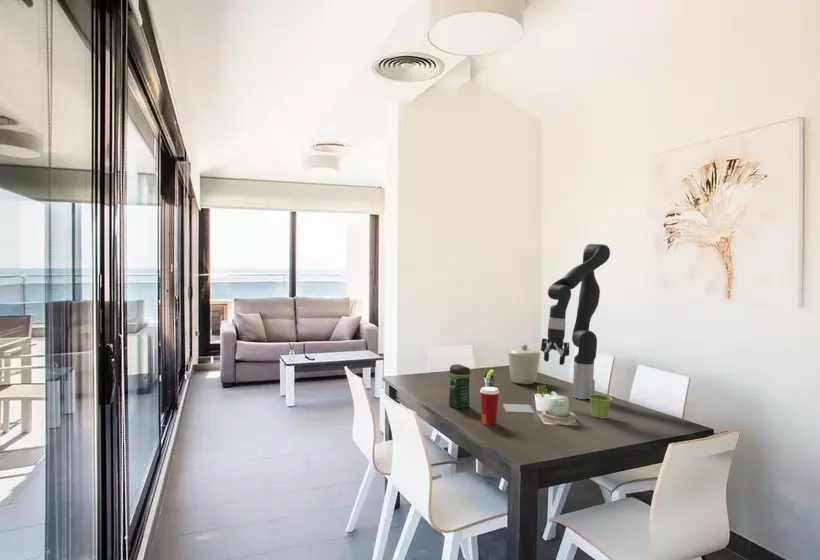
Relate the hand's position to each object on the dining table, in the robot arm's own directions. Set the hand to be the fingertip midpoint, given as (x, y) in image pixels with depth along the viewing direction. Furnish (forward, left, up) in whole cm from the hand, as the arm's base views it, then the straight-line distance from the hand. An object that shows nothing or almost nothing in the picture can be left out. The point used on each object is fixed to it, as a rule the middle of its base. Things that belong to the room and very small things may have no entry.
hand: (553, 362), depth 230 cm
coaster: (+17, +11, -19) cm, 28 cm away
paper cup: (+32, +32, -19) cm, 50 cm away
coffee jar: (+43, +9, -19) cm, 48 cm away
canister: (+6, -43, -20) cm, 47 cm away
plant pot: (-16, +18, -20) cm, 31 cm away
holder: (+3, +25, -19) cm, 32 cm away
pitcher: (+3, +23, -19) cm, 30 cm away
